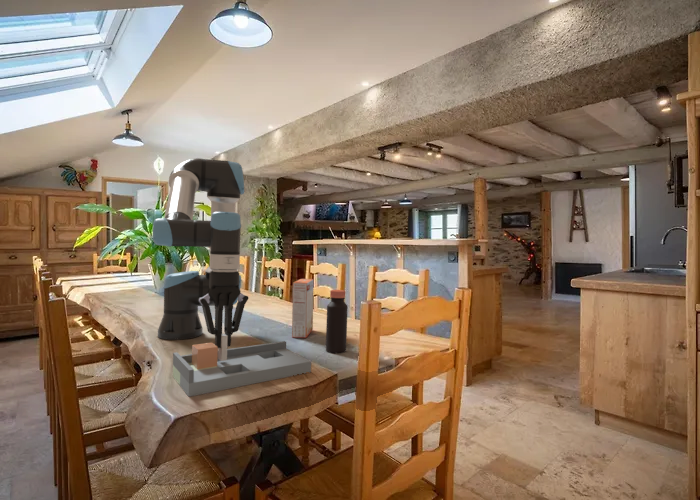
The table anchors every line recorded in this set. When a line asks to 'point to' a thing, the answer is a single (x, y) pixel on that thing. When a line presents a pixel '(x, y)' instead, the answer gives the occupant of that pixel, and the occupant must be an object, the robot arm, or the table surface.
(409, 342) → the table surface
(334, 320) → the bottle
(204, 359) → the terracotta block
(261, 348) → the board
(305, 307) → the cracker box
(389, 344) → the table surface
